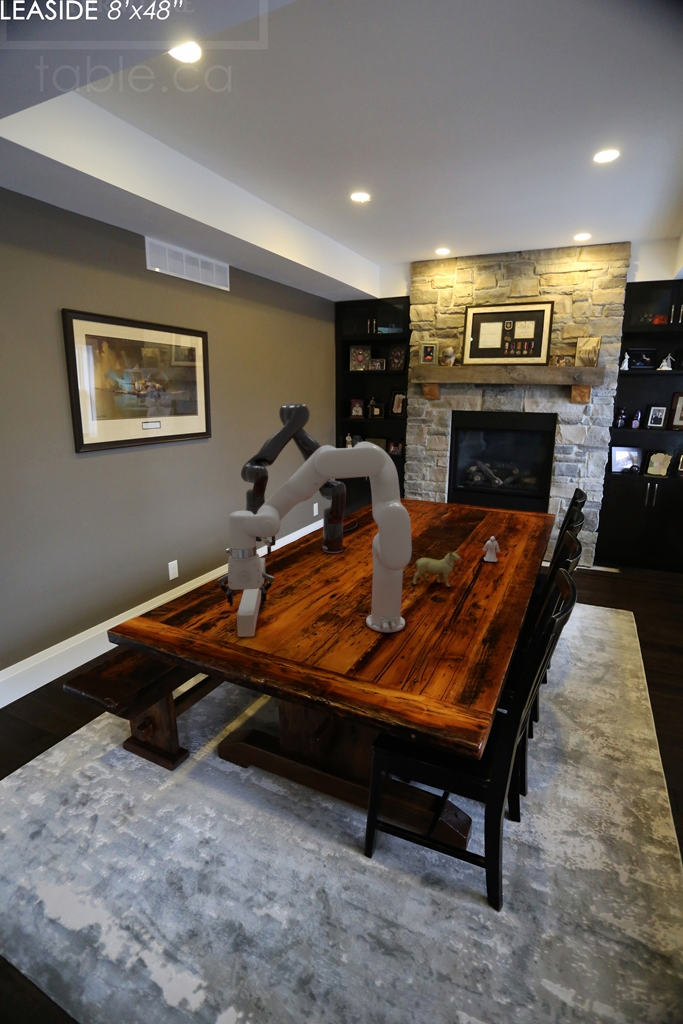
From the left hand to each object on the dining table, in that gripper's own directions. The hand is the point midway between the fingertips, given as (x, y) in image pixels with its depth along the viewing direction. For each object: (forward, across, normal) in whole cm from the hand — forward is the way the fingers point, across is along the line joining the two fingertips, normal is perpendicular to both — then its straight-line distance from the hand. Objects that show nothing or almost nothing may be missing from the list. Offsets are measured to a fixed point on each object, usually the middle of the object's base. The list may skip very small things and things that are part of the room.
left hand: (257, 555), depth 196 cm
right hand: (0, -1, +43) cm, 43 cm away
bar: (+9, 0, +22) cm, 24 cm away
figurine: (+11, -102, -18) cm, 104 cm away
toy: (+10, -70, +9) cm, 71 cm away
